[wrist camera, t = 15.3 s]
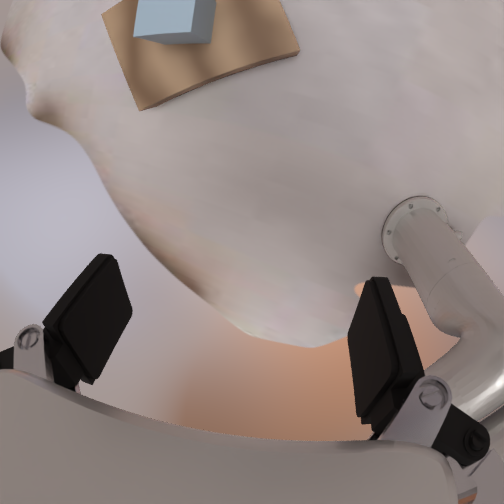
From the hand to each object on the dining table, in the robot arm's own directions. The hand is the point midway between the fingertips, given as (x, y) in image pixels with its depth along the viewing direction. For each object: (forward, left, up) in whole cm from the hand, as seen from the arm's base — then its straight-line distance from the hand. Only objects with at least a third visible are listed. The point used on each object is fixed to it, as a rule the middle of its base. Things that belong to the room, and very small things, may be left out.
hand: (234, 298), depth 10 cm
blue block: (+8, -16, -25) cm, 30 cm away
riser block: (+8, -16, -31) cm, 36 cm away
